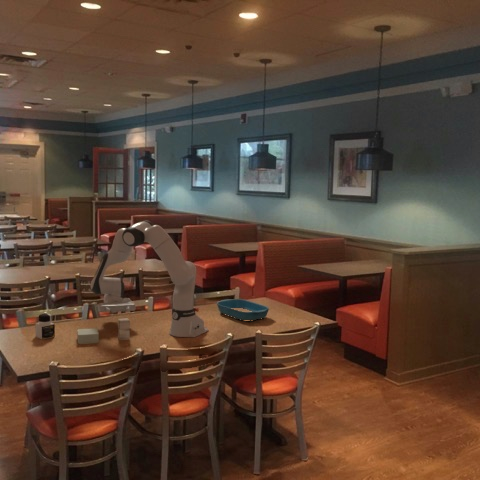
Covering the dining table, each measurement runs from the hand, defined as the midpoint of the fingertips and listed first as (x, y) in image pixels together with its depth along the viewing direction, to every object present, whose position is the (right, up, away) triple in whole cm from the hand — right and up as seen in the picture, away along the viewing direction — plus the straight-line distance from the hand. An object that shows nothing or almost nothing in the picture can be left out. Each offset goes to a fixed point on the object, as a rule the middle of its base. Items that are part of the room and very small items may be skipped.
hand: (119, 310), depth 289 cm
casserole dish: (+67, -9, +44) cm, 81 cm away
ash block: (+5, -13, -10) cm, 17 cm away
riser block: (-13, -14, -15) cm, 24 cm away
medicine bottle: (-36, -12, -12) cm, 39 cm away
